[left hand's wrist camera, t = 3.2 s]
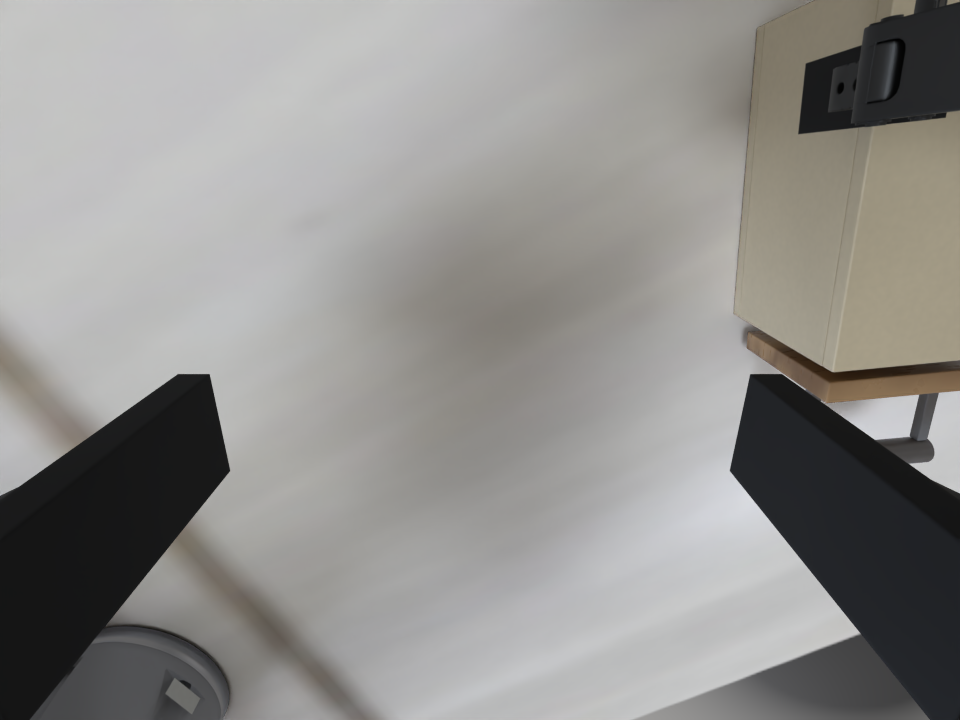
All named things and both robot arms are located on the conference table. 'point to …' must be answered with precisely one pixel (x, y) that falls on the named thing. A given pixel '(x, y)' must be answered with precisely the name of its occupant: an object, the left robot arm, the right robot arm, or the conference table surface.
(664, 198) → the conference table surface
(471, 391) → the conference table surface
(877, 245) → the cabinet
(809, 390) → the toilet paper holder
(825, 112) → the right robot arm
